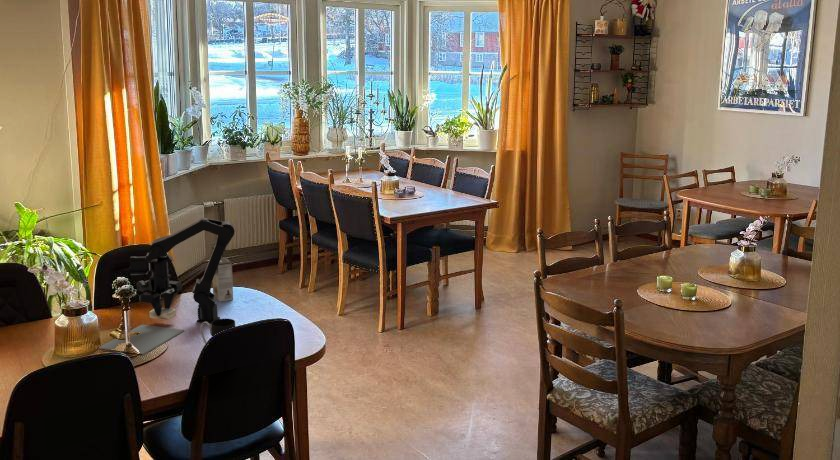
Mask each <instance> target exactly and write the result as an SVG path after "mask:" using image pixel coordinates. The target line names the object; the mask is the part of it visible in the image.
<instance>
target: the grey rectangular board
mask: <svg viewBox="0 0 840 460" xmlns="http://www.w3.org/2000/svg"><path fill="white" fill-rule="evenodd" d="M130 331H131V332H140V334H138V335H136V334H135V335H131V336H130V342H131V343H132V344H133V345H134V346H135V347H136V348H137V349H138V350H139V352H140V354H142V355H141V356H145V355H146V354H149V351H150V352H152V351H153V350H155V349H156V347H157V348H158V347H161V346H162V345H163V344H165V343H166V342H168V341H170V340H172V339H173V338H176V337H177V336H178V335H181V334H182V333H184V332H185V329H179V328H171V327H165V326H156V325H150V324H149V325H147V324H140V325H138V326H136V327H135V328H133V329H131V330H130ZM116 338H117V337H115V338H114V339H112V340H110V341H107V342H106V343H104V344H102V345H100V346H98V347H99V348H100V349H99V350H102V349H105V351H110V350H111V349H115V348H116V346H118V343H119V344H121V343H125V340H118V339H116ZM154 348H155V349H154ZM151 350H152V351H151ZM144 354H145V355H144Z"/></svg>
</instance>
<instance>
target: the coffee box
mask: <svg viewBox="0 0 840 460" xmlns="http://www.w3.org/2000/svg"><path fill="white" fill-rule="evenodd" d="M233 283H234V282H233V263H232V261H231V260H230V259H229V258H227V257H226V256H224V257H221V260H220V262H219V265H218V267H217V270H216V273H215V275H214V278H213V280H212V293H213V294H214V295H215V296H216V297H215V300H216V301H218V302H226V301H232V300H234V285H233Z"/></svg>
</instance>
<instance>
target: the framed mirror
mask: <svg viewBox="0 0 840 460" xmlns="http://www.w3.org/2000/svg"><path fill="white" fill-rule="evenodd" d="M175 317H177V309H175V308H170V309H167V308H165V307H162V310H161V314H160V316H157V314H156V312H155V310H154V308H153V309H152V310H150V311H149V319H156V320H165V321H166V320H167V321H170V320H171V319H173V318H175Z"/></svg>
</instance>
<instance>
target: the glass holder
mask: <svg viewBox="0 0 840 460" xmlns="http://www.w3.org/2000/svg"><path fill="white" fill-rule="evenodd" d="M204 324H206V325H207V326H208V329H209V334H210V336H211V337H212V336H214V335H215V334H217V333H219V332H221V331H223V330H226V329H229V328H232V327H235V328H236V321H235V319H232V318H220V319H217V320H214V321H212V322H211V323H208V322H201V324H200V329H199V330H200V334H201V338H202V340H203V342H204V345H206V343H208V342H207V340H206V337H205V335H204V329H203V325H204Z"/></svg>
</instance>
